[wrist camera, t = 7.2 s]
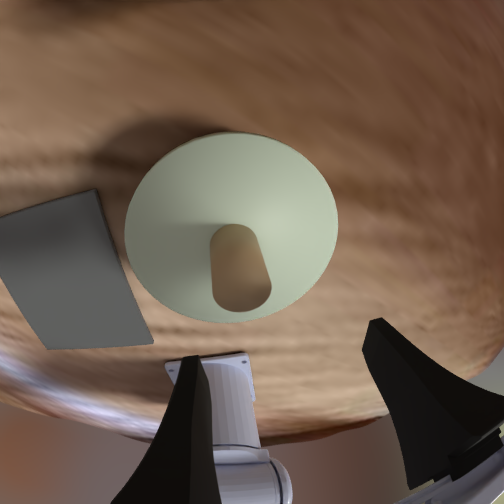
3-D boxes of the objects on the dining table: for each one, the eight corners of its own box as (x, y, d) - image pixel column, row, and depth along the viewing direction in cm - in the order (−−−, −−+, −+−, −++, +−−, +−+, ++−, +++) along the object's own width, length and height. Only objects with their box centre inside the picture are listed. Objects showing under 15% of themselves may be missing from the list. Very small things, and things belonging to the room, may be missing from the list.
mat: (153, 340, 24) (153, 343, 24) (48, 346, 23) (47, 349, 23) (96, 188, 16) (94, 191, 16) (-21, 224, 15) (-23, 227, 15)
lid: (320, 302, 19) (342, 352, 15) (151, 320, 18) (145, 375, 14) (341, 131, 13) (389, 154, 9) (109, 146, 12) (73, 174, 8)
